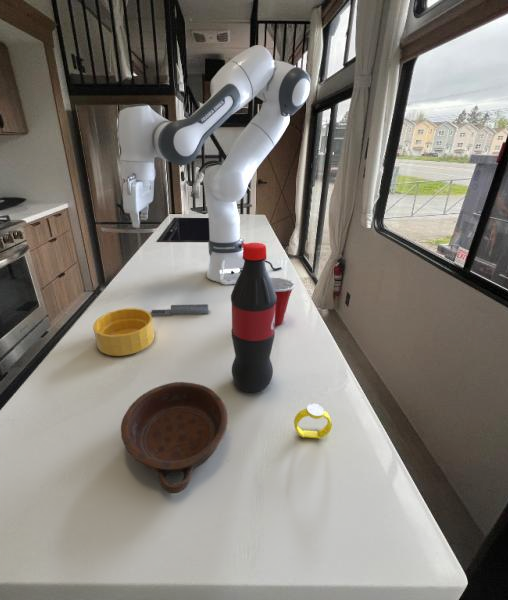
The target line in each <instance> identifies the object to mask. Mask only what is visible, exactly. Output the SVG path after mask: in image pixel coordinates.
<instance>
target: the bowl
mask: <svg viewBox="0 0 508 600" xmlns="http://www.w3.org/2000/svg"><path fill="white" fill-rule="evenodd" d="M92 328H93V335H94V338H95V343H96V347H97V349H98V350H99V352H101V353H103V354H105V355H108V356H115V357H116V356H119V357H120V356H128V355H133V354H135V353H138V352H141V351H143V350H145V349H146V348H148V347H150V345H151V344H152V343H154V340H155V328H154V320H153V316H152V315H151V313H150V312H149V311H147V310H145V309H143V308H135V307H133V308H132V307H131V308H130V307H129V308H128V307H127V308H120V309H116V310H113V311H109V312H107V313H105V314H103V315H101V316H100V317H98V318H97V319H96V320H95V322H94V323H93V326H92Z"/></svg>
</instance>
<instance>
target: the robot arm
mask: <svg viewBox="0 0 508 600" xmlns="http://www.w3.org/2000/svg"><path fill="white" fill-rule="evenodd" d="M209 89H210V97H209V99H207V100H206V101H205V102H204V103H203V104H202V105H201V106H199V108H198V109H197V110H196V111H194V112H193V113H192V114H190V116H188V117H186V118H183V119H177V120H173V121H170V120H169V119H167V118H165V117H163V116H161V115H160V114H159V113H157V112H156V111H155V110H154V109H152V108H151V106H150V105H149V104H147V103H136V104H135V103H134V104H129V105H125V106H123V107H122V108H121V109H120V110H119V113H118V121H117V122H118V125H117V128H118V143H119V146H120V151H121V152H120V157H119V159H120V160H119V161H120V176H121V179H122V180H126V181H125V182H123V184H122V207H123V208H122V209H123V211H124V213H125V214H129V216H130V219H131V223H132V224H131V225H132V227H133V228H135V229H136V228H139V227H141V220H142V221H147V220H148V218H149V217H148V216H149V215H148V214H149V207H150V206H149V205H150V204H151V203H153V201H154V191H155V178H156V177H157V171H156V168H155V158H160V159H162V160H165V161H167V162H170V163H171V164H173V165H175V166H186V165H190V164H191V163H192V162H193V161H194V160H196V158H197V157H198V155H199V153H200V152H201V149H202V147H203V146H204V144H205V142H206V141H207V139H208V138H209V137H210V136H212V135H213V133H214V132H216V130H217V129H219V128H220V127H221V126H222V125H223V124H224V123H225V122H226V121H227V120H228V119H229V118H230V117H231V116H232V115H234V114H235V113H236V112H238V111H239V110H241V109H242V108H243V107H245V106H246V105H247V104H248V103H250V102H251V101H252V100H253V99H255V98H257V99H259V100H261V101H262V103H261V104H262V105H261V107H260V110H259V111H258V112H257V113H256V114H255V115H254V117H253V118H252V119H251V120H250V121H249V123H247V125H246V127H244V128H243V130H242V132H240V133H239V136H238V137H237V138H236V139H235V141H234V142H233V143H232V146H231V148H230V150H229V152H228V154H227V156H226V157H225V159H224V160H223V162H222V164H215V165H212V166H210V167H209V168H208V169H207V170H206V171H205V173H204V174H203V176H202V177H203V178H202V183H203V190H204V197H205V204H206V210H207V215H208V233H209V234H208V235H209V239H208V242H207V245H208V247H207V249H208V255H209V261H208V269H207V272H206V278H208V279H209V280H211V281H212V282H217V283H219V284H222V285H226V286H227V285H235V284H236V281H237V279H238V277H239V275H240V273H241V271H242V269H243V266H244V261H245V260H243V248H244V245H245V244H247V242H246V240H245V239H244V238H241V219H240V218H241V217H240V214H239V211H238V210H239V209H238V205H237V202H239V201H240V200H242V199H243V198H244V197H245V196H246V194H247V191H248V186H249V184H250V183H251V181H252V179H253V177H254V175H255V173H256V171H257V169H258V168H259V167H260V165H261V164H262V163H263V161H264V160H265V159H266V157H267V156H268V155H269V154H270V152H271V151H272V150H273V149H274V147H275V146H276V145H277V144H278V142H279V141H280V139H281V138H282V136H283V134H284V133H285V131H286V129H287V128H288V126H289V124H290V120H291V119H290V117H292V116H293V115H295V114H296V113H297V112H298V111H299V110H300V109H301V108H302V107H303V105H304V104H305V103H306V102H307V100H308V98H309V96H310V93H311V89H312V80H311V75H309V73H308V72H307V71H306V70H304V69H303V68H301V67H299V66H295V65H293V64H291V63H288V62H286V61H283V60H282V61H281V60H276V59H274V57H273V56H272V53H271V52H270V51H269V49H268V48H267V47H265V46H263V45H260V44H256V45H252V46H251V47H249V48H246V49H244V50H243V51H242V52H240V53H238V54H237V55H235V56H234V57H232V58H231V59H229V61H227V62H226V63H225V64H224V65H223V66H222V67H221V68H219V70H217V72H216V74H215V75H214V76H213V77H212V78H211V80H210V87H209ZM139 215H140V216H139ZM264 262H265V264H269V265H270V268H271V270H273V271H279V270H282V266H280V267H274V265H273V263H272V262H270V261H269V260H267V259H266V260H264Z"/></svg>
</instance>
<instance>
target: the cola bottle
mask: <svg viewBox="0 0 508 600" xmlns="http://www.w3.org/2000/svg"><path fill="white" fill-rule="evenodd" d="M246 243H247V242H246ZM243 260H245V261H244V266H243V269H242V271H241V273H240V275H239V277H238V279H237V281H236V284H234V286H233V289H232V292H231V294H230V302H231V331H230V332H231V339H232V344H233V350H234V355H235V356H234V359H233V362H232V365H231V375H232V379H233V382H234V384H235V385H236V387H237V388H238V389H240V390H242V391H245V392H247V393H259V392H261V391H264V390H265V389H266V388H268V386H269V385H270V383H271V381H272V379H273V375H274V368H273V363H272V360H271V353H272V349H273V345H274V341H275V335H276V329H275V327H276V326H275V307H276V301H277V296H276V293H275V289H274V286H273V283H272V281H271V278H270V277H271V276H270V274H269V272H268V271H267V267H266V262H264V260H266V261H267V247H266V244H265V243H262V242H248V243H247V244H245V245H244V248H243Z"/></svg>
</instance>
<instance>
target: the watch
mask: <svg viewBox="0 0 508 600" xmlns="http://www.w3.org/2000/svg"><path fill="white" fill-rule="evenodd" d="M306 417H309V418H312V419H313V420H319V419H322V418H324V419H326V420H327V423H326V425H325V426H324V427H323V428H321V429H319V430H317V431H316V430H315V431H314V430H306V429H302V428H300V427H299V423H300V421H301V420H302V419H304V418H306ZM293 424H294V429H295V432H296V433H297V434H298V435H299V436H300V437H301V438H308V439H319V440H320V439H321V438H324V437H326V436H328V434H329V433H330V432H331V431H332V426H333V423H332V420H331V416H330V415H329V413H328V412H327V411H325V409H324V408H323V406H321V405H320V404H317V403H309V404H307V406H306V408H303V409H302V410H300V411H299V412H297V413H296V415H295V416H294V419H293Z"/></svg>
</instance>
